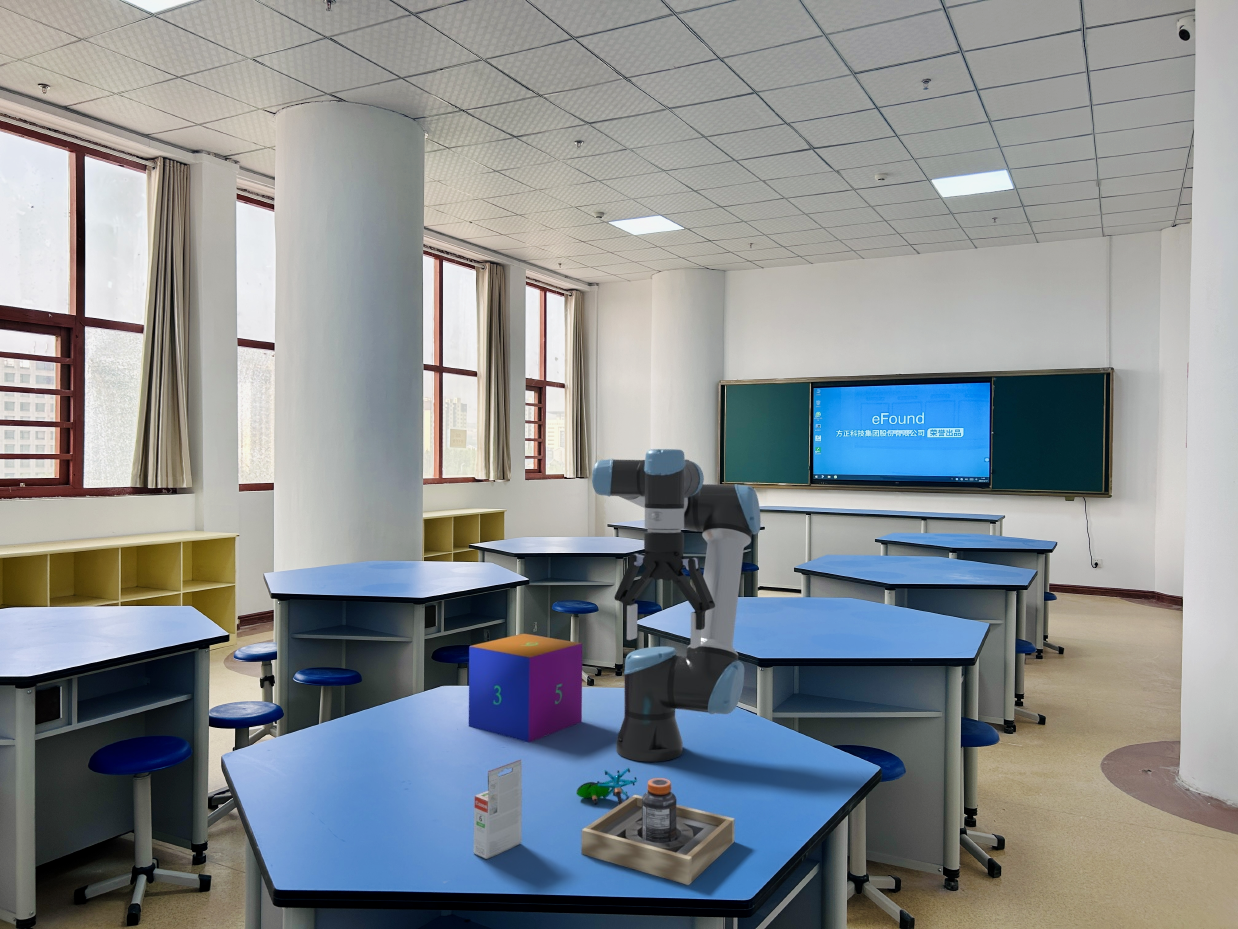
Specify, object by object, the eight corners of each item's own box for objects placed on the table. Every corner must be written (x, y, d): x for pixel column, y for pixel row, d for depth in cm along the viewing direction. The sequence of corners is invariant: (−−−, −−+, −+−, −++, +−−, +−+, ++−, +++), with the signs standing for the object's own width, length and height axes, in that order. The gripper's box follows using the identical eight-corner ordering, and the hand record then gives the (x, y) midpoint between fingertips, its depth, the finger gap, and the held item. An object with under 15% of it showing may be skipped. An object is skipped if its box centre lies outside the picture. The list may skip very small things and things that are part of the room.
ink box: (472, 854, 142) (473, 766, 142) (507, 838, 148) (508, 754, 148) (487, 860, 140) (487, 772, 140) (522, 844, 146) (523, 759, 146)
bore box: (581, 853, 142) (581, 830, 142) (634, 816, 158) (634, 794, 158) (688, 885, 132) (688, 859, 132) (734, 841, 147) (734, 818, 147)
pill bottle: (658, 836, 149) (658, 772, 149) (683, 848, 145) (684, 781, 145) (634, 847, 145) (635, 781, 145) (659, 859, 141) (660, 791, 141)
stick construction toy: (638, 781, 169) (630, 759, 165) (645, 813, 164) (638, 790, 159) (580, 799, 169) (571, 777, 164) (585, 831, 163) (576, 809, 158)
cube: (523, 708, 227) (523, 633, 227) (581, 722, 215) (582, 643, 215) (468, 726, 211) (469, 646, 211) (528, 742, 199) (529, 657, 199)
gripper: (597, 528, 164) (596, 638, 164) (716, 535, 151) (715, 654, 151) (617, 526, 170) (616, 632, 170) (733, 532, 157) (732, 646, 157)
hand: (663, 643), depth 160 cm, fingers open, 13 cm apart
